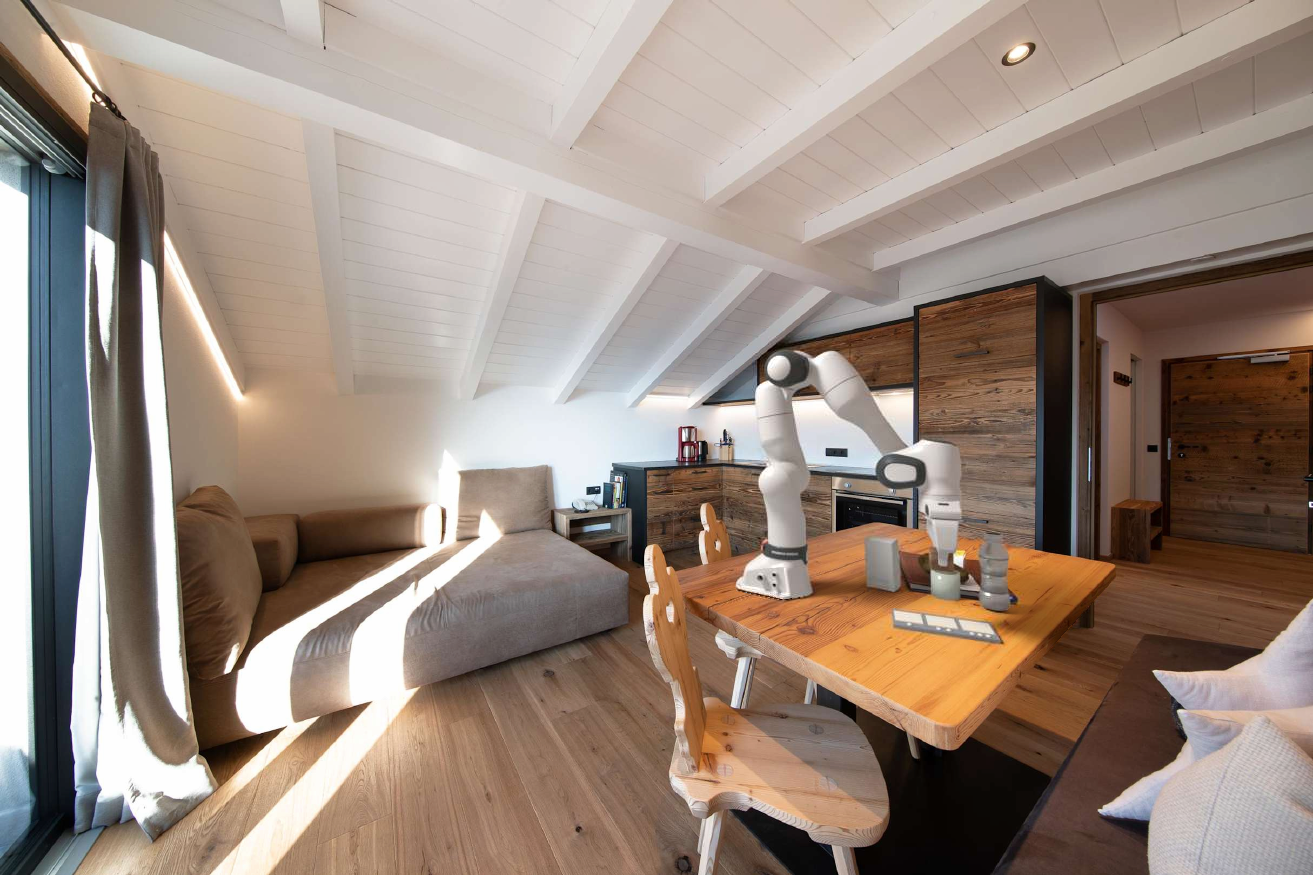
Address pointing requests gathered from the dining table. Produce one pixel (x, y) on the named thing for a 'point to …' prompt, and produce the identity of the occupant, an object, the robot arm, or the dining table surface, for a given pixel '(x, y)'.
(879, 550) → the skincare box
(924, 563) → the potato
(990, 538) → the plastic bottle
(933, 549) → the marker cube
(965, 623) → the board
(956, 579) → the sage mug
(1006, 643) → the dining table surface
